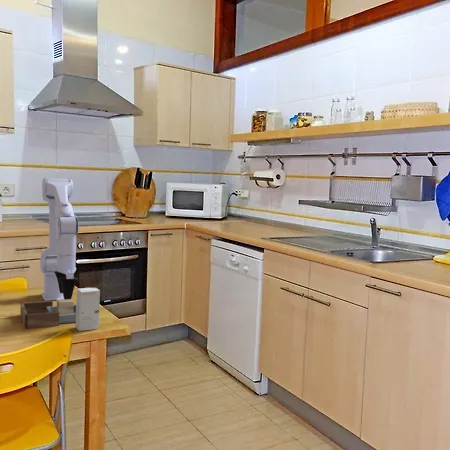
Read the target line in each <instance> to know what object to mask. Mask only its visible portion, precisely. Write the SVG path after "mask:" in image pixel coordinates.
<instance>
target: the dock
mask: <svg viewBox="0 0 450 450" xmlns="http://www.w3.org/2000/svg"><path fill="white" fill-rule="evenodd" d="M49 306H54V300H46V301H45V300H42V301H40V300H39V301H38V300H37V301H24V302H20V316H21V317H20V318H21V320H22V324H23V327H24V329H34V328H35V329H36V328H44V327H45V328H46V327H54V326H55V327H56V326H59V325H60V323H59V312H48V313H46V307H49Z"/></svg>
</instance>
